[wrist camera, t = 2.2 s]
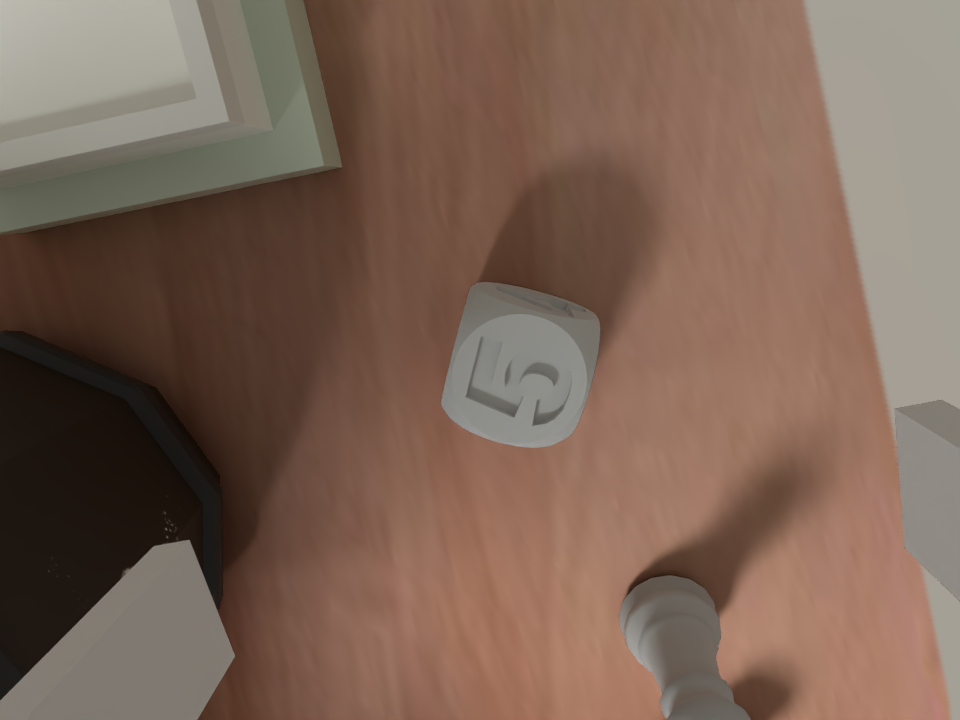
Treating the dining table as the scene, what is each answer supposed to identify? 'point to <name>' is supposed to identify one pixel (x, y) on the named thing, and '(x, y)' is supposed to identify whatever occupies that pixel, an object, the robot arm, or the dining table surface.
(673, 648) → the rook chess piece
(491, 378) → the die
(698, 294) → the dining table surface
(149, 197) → the tower base
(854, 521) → the dining table surface
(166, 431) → the black bucket
